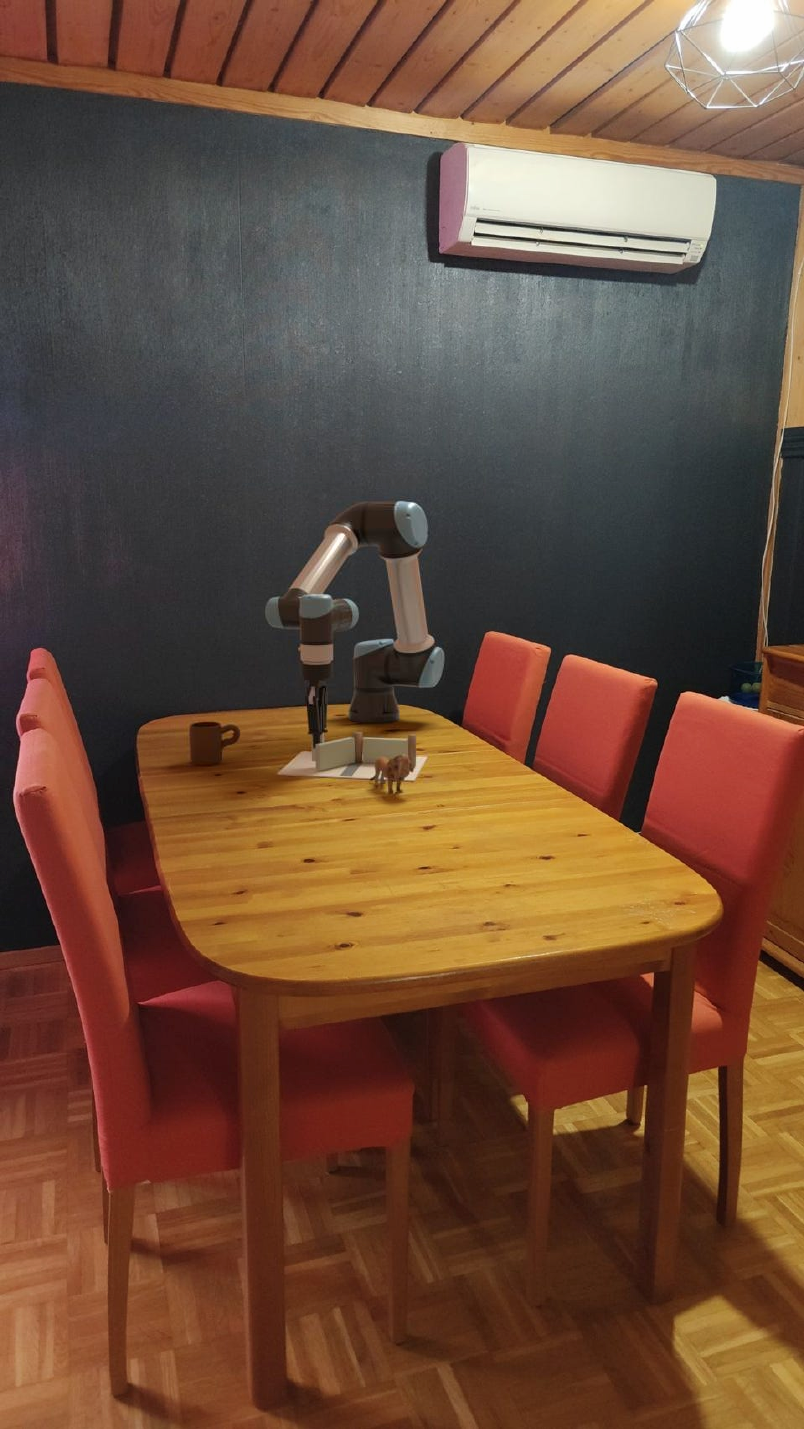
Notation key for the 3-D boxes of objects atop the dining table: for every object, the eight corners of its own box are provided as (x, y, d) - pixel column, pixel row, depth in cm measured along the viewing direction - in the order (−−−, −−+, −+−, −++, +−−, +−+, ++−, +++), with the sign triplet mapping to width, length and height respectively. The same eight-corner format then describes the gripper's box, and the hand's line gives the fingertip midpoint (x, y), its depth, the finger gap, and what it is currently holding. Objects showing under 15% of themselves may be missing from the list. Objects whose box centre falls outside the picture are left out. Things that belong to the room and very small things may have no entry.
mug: (240, 757, 238) (239, 719, 236) (241, 764, 231) (240, 726, 229) (190, 759, 236) (189, 721, 234) (190, 767, 228) (189, 728, 226)
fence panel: (315, 769, 224) (315, 744, 223) (350, 761, 232) (350, 736, 231) (320, 770, 223) (319, 745, 222) (355, 762, 231) (355, 738, 230)
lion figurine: (418, 795, 206) (419, 754, 204) (398, 799, 203) (399, 758, 201) (378, 780, 218) (378, 741, 216) (359, 784, 215) (359, 745, 213)
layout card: (302, 752, 243) (302, 751, 243) (427, 757, 238) (427, 756, 238) (276, 775, 222) (276, 773, 222) (414, 781, 217) (414, 780, 216)
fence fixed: (353, 760, 234) (353, 731, 232) (416, 763, 231) (417, 734, 230) (351, 762, 232) (351, 733, 230) (415, 765, 229) (415, 736, 228)
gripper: (308, 657, 229) (309, 753, 234) (293, 665, 216) (295, 767, 221) (339, 658, 228) (339, 754, 233) (325, 666, 215) (327, 768, 220)
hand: (318, 760), depth 227 cm, fingers closed
